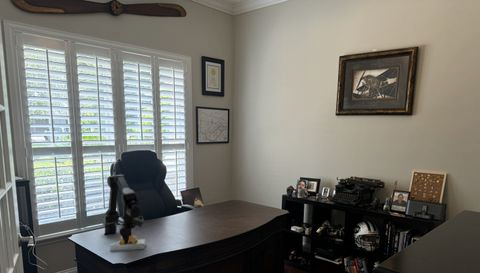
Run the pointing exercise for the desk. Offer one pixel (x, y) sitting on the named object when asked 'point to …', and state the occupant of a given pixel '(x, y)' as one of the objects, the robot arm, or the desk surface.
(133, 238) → the clip
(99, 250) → the desk surface
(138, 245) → the rail
